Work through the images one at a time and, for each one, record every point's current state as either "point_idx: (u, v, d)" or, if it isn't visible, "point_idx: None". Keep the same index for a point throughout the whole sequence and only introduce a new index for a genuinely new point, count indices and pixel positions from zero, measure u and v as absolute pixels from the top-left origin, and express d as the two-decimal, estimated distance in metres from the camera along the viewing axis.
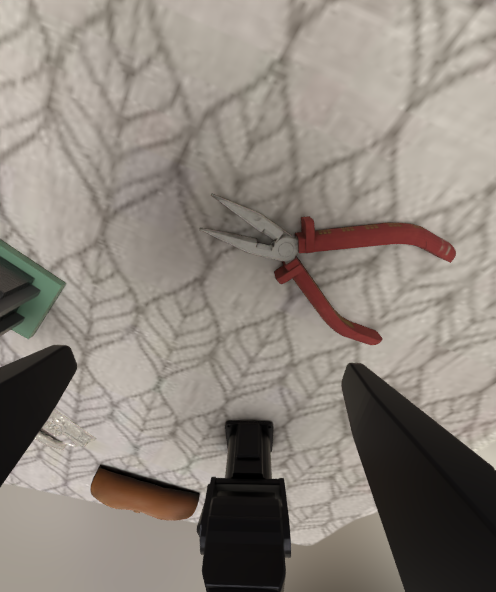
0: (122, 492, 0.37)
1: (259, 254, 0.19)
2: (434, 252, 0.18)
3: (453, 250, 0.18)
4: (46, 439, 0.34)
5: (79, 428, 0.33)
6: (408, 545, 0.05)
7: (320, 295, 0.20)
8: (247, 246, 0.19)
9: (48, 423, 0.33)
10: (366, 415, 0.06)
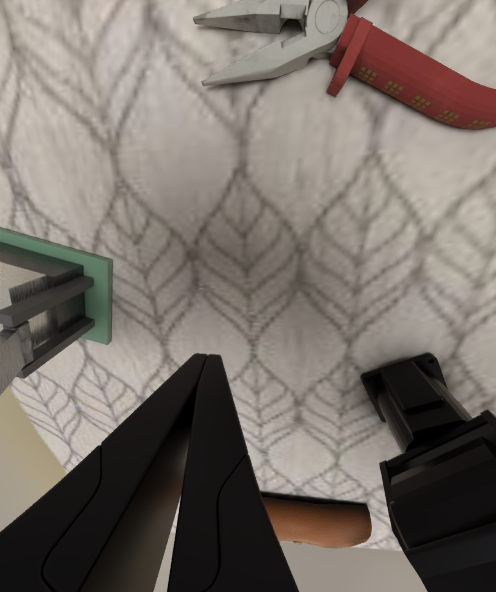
0: (270, 517, 0.30)
1: (291, 56, 0.12)
2: None
3: None
4: None
5: None
6: None
7: (420, 57, 0.12)
8: (270, 55, 0.12)
9: None
10: None
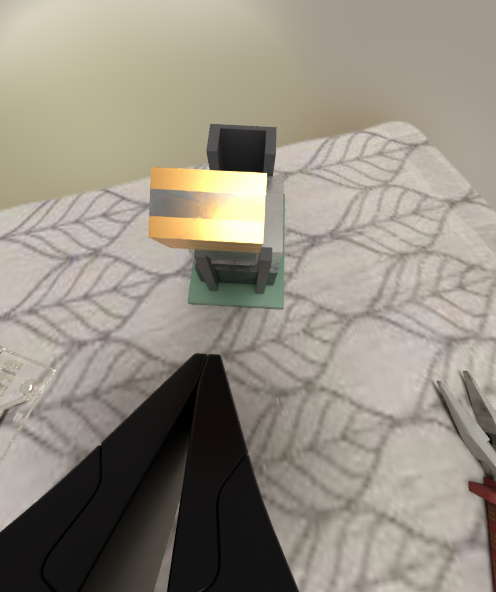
0: None
1: (485, 451, 0.17)
2: None
3: None
4: None
5: None
6: None
7: None
8: (478, 434, 0.18)
9: (11, 377, 0.20)
10: None
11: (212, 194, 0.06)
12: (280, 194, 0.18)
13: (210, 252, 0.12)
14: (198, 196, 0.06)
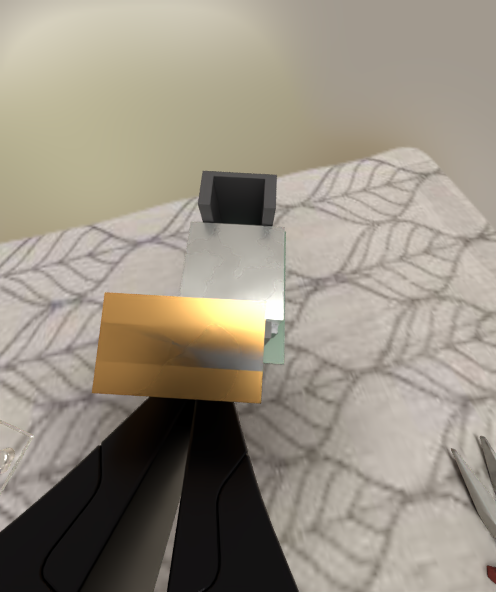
0: None
1: None
2: None
3: None
4: None
5: None
6: None
7: None
8: None
9: None
10: None
11: (190, 327, 0.04)
12: (281, 248, 0.17)
13: None
14: (168, 332, 0.04)
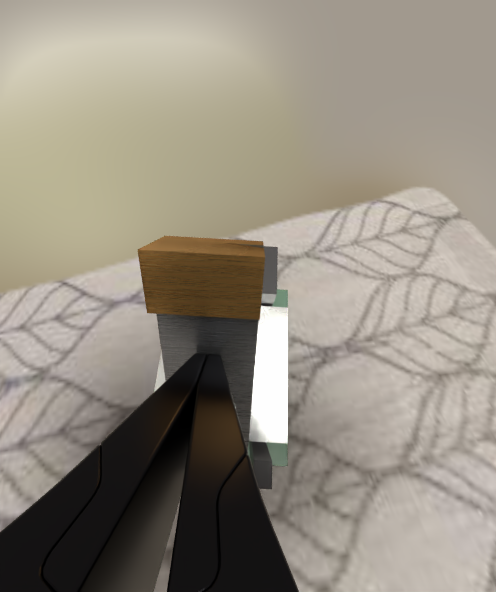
0: None
1: None
2: None
3: None
4: None
5: None
6: None
7: None
8: None
9: None
10: None
11: None
12: (283, 338, 0.13)
13: None
14: (201, 243, 0.06)
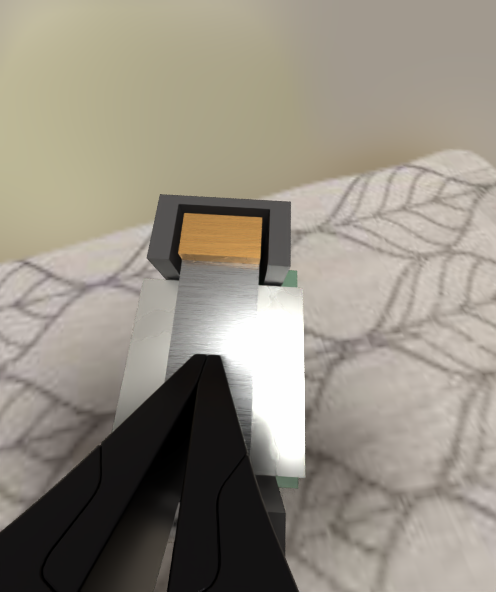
0: None
1: None
2: None
3: None
4: None
5: None
6: None
7: None
8: None
9: None
10: None
11: None
12: (297, 329, 0.10)
13: None
14: None
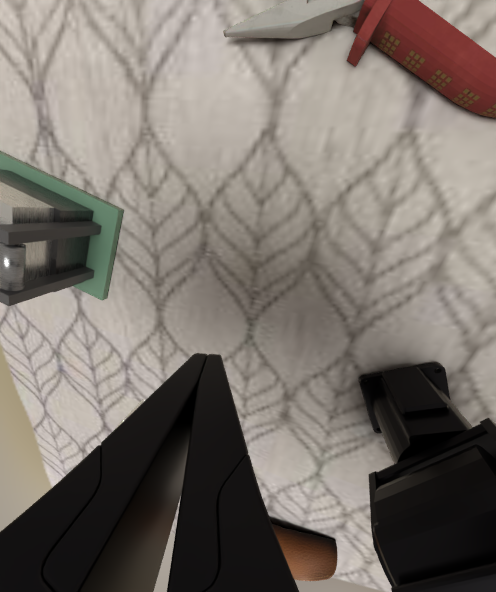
0: None
1: (315, 13, 0.12)
2: None
3: None
4: None
5: None
6: None
7: (446, 26, 0.11)
8: (294, 9, 0.12)
9: None
10: None
11: None
12: None
13: None
14: None
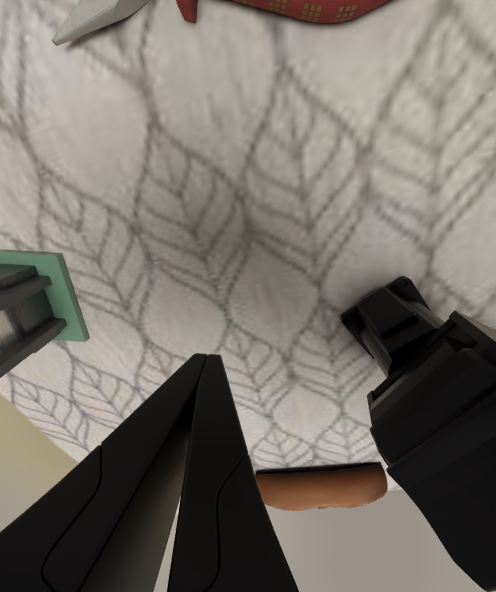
0: (291, 490, 0.31)
1: None
2: None
3: None
4: None
5: None
6: None
7: None
8: None
9: None
10: None
11: None
12: None
13: None
14: None
